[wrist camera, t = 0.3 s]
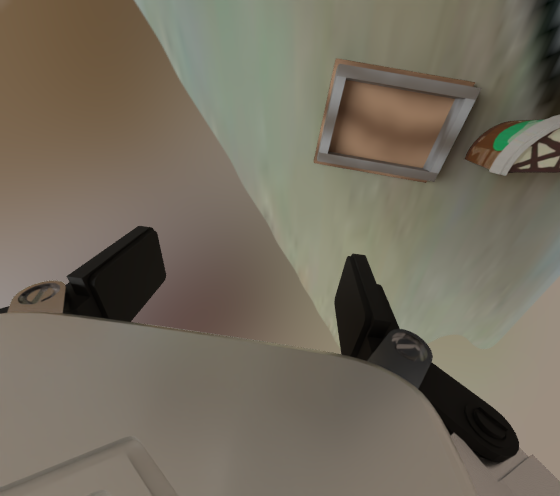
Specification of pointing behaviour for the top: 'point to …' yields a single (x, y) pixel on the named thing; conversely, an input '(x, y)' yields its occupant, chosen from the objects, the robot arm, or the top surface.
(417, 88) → the cradle
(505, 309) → the top surface
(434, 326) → the top surface
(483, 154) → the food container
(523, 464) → the robot arm
